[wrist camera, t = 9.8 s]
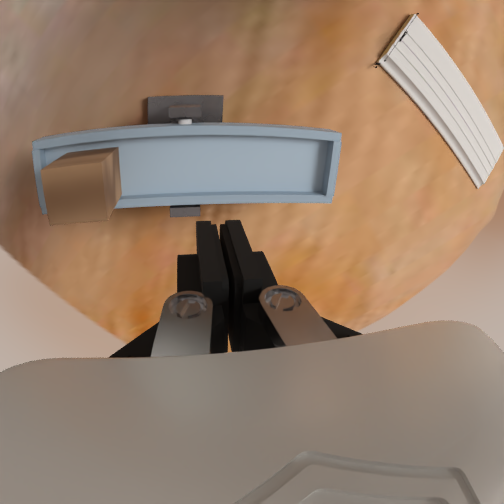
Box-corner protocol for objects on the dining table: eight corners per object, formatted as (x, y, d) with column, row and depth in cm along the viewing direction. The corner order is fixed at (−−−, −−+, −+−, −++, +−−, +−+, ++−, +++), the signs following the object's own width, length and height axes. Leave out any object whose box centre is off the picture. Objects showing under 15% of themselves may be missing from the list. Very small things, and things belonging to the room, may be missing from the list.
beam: (43, 132, 23) (30, 137, 20) (330, 125, 28) (343, 129, 26) (52, 208, 26) (42, 219, 24) (320, 197, 32) (331, 207, 30)
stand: (64, 106, 27) (35, 113, 20) (308, 101, 33) (339, 106, 26) (73, 205, 33) (50, 233, 26) (298, 196, 38) (323, 222, 32)
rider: (67, 152, 23) (40, 170, 18) (118, 146, 24) (101, 162, 19) (72, 198, 25) (49, 225, 20) (122, 194, 26) (107, 220, 21)
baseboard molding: (471, 193, 45) (498, 145, 41) (482, 199, 43) (509, 149, 39) (368, 69, 32) (407, 14, 28) (381, 69, 29) (420, 12, 26)
